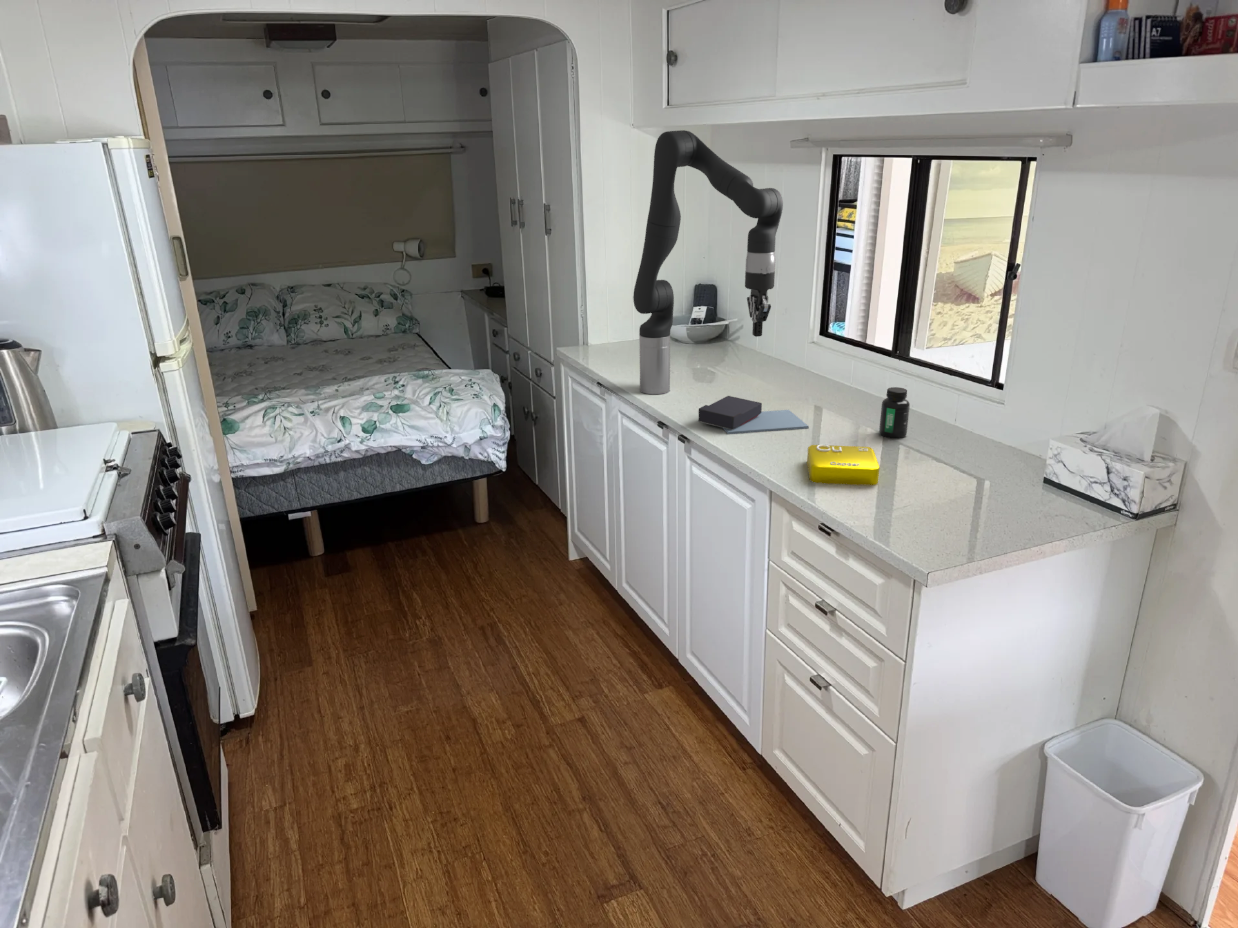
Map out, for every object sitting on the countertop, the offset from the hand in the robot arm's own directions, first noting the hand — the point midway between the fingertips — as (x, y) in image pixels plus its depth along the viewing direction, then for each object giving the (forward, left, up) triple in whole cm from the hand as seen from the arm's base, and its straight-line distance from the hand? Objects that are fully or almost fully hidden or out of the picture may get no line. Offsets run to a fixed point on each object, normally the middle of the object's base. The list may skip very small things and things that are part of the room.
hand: (757, 335), depth 227 cm
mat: (+4, 0, -23) cm, 23 cm away
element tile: (+43, +7, -24) cm, 50 cm away
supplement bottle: (+21, +30, -23) cm, 43 cm away
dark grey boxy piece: (-3, -2, -20) cm, 20 cm away
